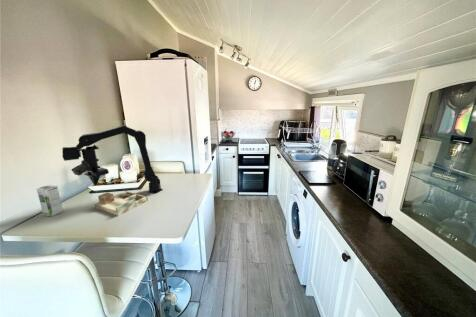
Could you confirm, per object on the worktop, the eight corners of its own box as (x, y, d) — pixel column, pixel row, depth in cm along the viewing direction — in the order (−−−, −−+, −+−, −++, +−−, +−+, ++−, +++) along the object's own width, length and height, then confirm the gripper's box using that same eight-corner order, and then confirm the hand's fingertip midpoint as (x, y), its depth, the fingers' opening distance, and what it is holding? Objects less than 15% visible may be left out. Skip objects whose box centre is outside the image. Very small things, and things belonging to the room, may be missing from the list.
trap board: (126, 194, 119) (125, 188, 118) (148, 200, 111) (147, 193, 110) (95, 208, 103) (93, 200, 102) (118, 216, 95) (116, 207, 94)
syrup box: (42, 215, 96) (35, 188, 92) (56, 209, 102) (49, 184, 98) (51, 216, 95) (43, 190, 91) (64, 210, 100) (57, 185, 97)
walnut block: (108, 198, 108) (107, 192, 107) (114, 200, 106) (113, 193, 105) (99, 202, 104) (98, 195, 103) (105, 204, 102) (103, 197, 101)
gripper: (62, 159, 99) (69, 187, 103) (83, 163, 91) (89, 193, 95) (86, 155, 109) (91, 180, 113) (106, 158, 101) (111, 185, 105)
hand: (95, 184), depth 106 cm, fingers closed
